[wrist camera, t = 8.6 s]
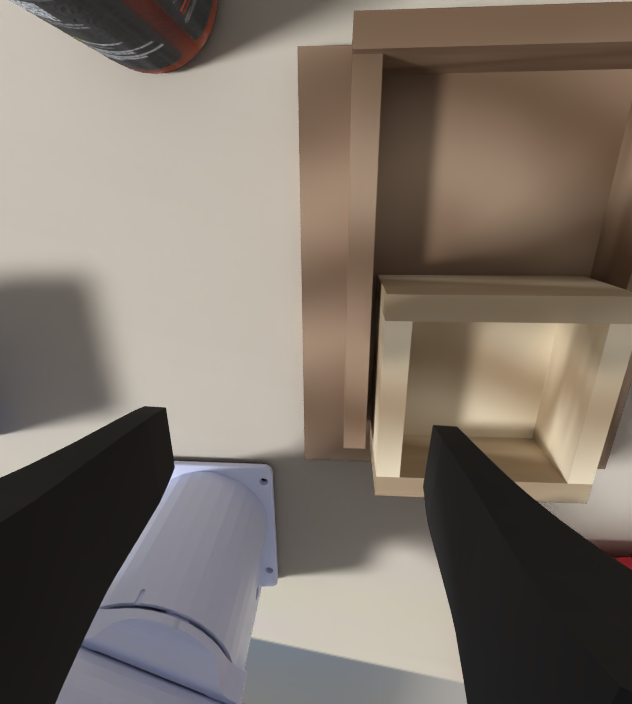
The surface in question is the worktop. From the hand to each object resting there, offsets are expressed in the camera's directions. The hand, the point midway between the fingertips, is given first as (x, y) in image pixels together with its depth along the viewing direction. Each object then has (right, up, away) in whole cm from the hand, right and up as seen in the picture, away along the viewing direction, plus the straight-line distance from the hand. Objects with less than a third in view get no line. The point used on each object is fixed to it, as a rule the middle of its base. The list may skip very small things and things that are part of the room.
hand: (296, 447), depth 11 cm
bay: (+8, +6, +8) cm, 13 cm away
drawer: (+8, 0, +9) cm, 12 cm away
